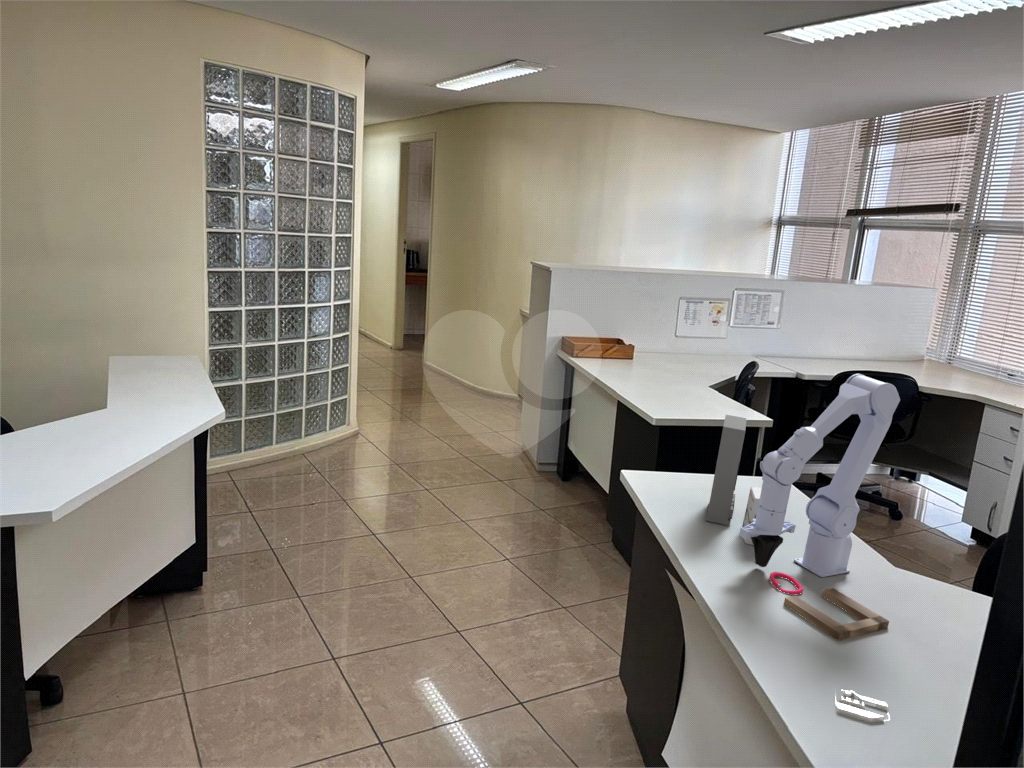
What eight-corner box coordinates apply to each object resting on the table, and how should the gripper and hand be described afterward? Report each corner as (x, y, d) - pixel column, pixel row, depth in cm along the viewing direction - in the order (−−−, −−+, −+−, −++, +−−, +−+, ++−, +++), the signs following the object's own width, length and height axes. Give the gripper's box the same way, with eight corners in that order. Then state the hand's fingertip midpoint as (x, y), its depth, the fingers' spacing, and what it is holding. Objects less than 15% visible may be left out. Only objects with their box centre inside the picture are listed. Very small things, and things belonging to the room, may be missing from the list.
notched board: (831, 594, 150) (833, 588, 150) (887, 628, 139) (889, 621, 139) (783, 604, 144) (785, 597, 143) (838, 640, 133) (840, 633, 132)
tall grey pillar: (730, 527, 180) (748, 431, 174) (705, 521, 182) (722, 426, 176) (732, 508, 193) (749, 418, 187) (709, 503, 195) (725, 414, 189)
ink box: (741, 529, 179) (749, 485, 176) (762, 533, 178) (771, 489, 175) (744, 544, 171) (753, 497, 168) (766, 548, 170) (776, 501, 167)
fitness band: (763, 576, 156) (764, 570, 155) (789, 578, 156) (790, 571, 156) (780, 596, 148) (781, 589, 148) (807, 597, 149) (808, 590, 148)
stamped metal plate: (835, 715, 112) (837, 707, 112) (833, 690, 118) (834, 682, 118) (891, 732, 109) (893, 724, 109) (886, 706, 116) (888, 698, 115)
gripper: (782, 497, 162) (770, 552, 165) (733, 502, 155) (723, 560, 158) (807, 509, 156) (795, 567, 159) (758, 515, 149) (746, 575, 152)
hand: (760, 564), depth 158 cm, fingers closed
